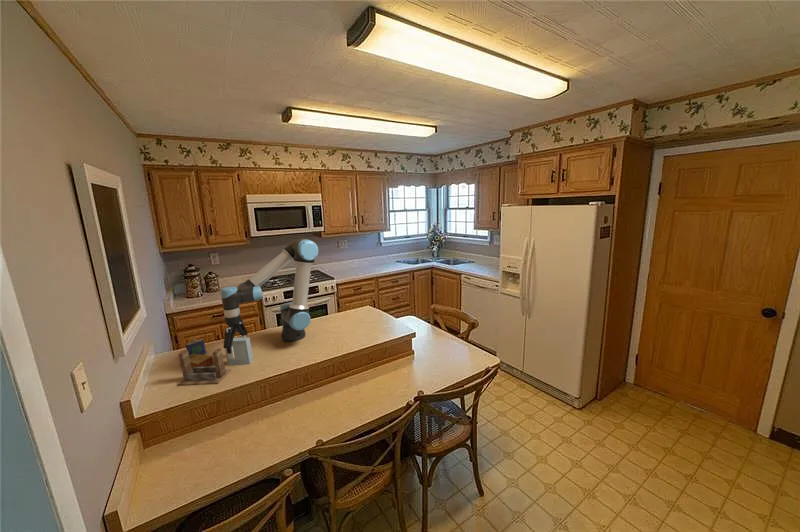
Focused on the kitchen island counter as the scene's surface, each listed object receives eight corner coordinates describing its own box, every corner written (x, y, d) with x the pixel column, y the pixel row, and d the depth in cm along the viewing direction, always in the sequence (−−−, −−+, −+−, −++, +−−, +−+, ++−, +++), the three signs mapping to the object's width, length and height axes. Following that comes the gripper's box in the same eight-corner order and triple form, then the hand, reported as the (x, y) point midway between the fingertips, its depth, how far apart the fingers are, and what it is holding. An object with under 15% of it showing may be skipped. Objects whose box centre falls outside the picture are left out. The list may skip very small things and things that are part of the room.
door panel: (253, 360, 172) (249, 337, 169) (249, 364, 168) (245, 340, 165) (232, 361, 172) (227, 338, 169) (227, 365, 168) (223, 341, 165)
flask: (205, 352, 185) (202, 335, 183) (207, 353, 183) (204, 337, 181) (188, 358, 178) (184, 341, 176) (189, 359, 176) (185, 342, 174)
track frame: (231, 370, 162) (226, 344, 159) (218, 383, 150) (212, 356, 147) (193, 372, 162) (188, 346, 159) (177, 385, 150) (171, 358, 147)
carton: (199, 370, 164) (197, 363, 163) (180, 365, 171) (179, 358, 170) (214, 363, 172) (212, 356, 171) (195, 358, 178) (194, 351, 177)
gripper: (237, 308, 176) (242, 342, 180) (211, 324, 152) (218, 364, 156) (250, 307, 176) (255, 342, 180) (226, 324, 152) (232, 363, 156)
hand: (238, 352), depth 168 cm, fingers open, 13 cm apart
